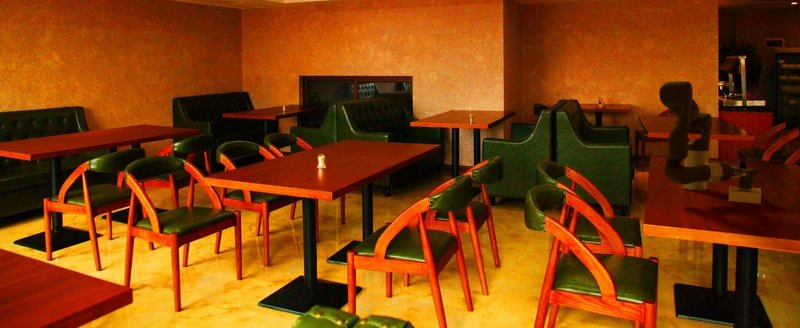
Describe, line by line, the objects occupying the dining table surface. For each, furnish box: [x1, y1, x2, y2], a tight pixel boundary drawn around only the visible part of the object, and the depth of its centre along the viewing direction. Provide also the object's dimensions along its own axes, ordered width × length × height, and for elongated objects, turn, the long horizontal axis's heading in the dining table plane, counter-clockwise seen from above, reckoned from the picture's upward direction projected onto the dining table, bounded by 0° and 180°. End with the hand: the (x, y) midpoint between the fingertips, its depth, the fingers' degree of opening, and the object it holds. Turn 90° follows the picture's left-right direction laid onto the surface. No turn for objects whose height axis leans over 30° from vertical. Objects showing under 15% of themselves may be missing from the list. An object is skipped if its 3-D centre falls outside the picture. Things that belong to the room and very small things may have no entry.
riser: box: [728, 185, 762, 204], centre depth 251 cm, size 11×11×4 cm
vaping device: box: [737, 157, 755, 189], centre depth 249 cm, size 3×5×12 cm, turn 51°
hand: (752, 170), depth 250 cm, fingers closed on vaping device, 4 cm apart
